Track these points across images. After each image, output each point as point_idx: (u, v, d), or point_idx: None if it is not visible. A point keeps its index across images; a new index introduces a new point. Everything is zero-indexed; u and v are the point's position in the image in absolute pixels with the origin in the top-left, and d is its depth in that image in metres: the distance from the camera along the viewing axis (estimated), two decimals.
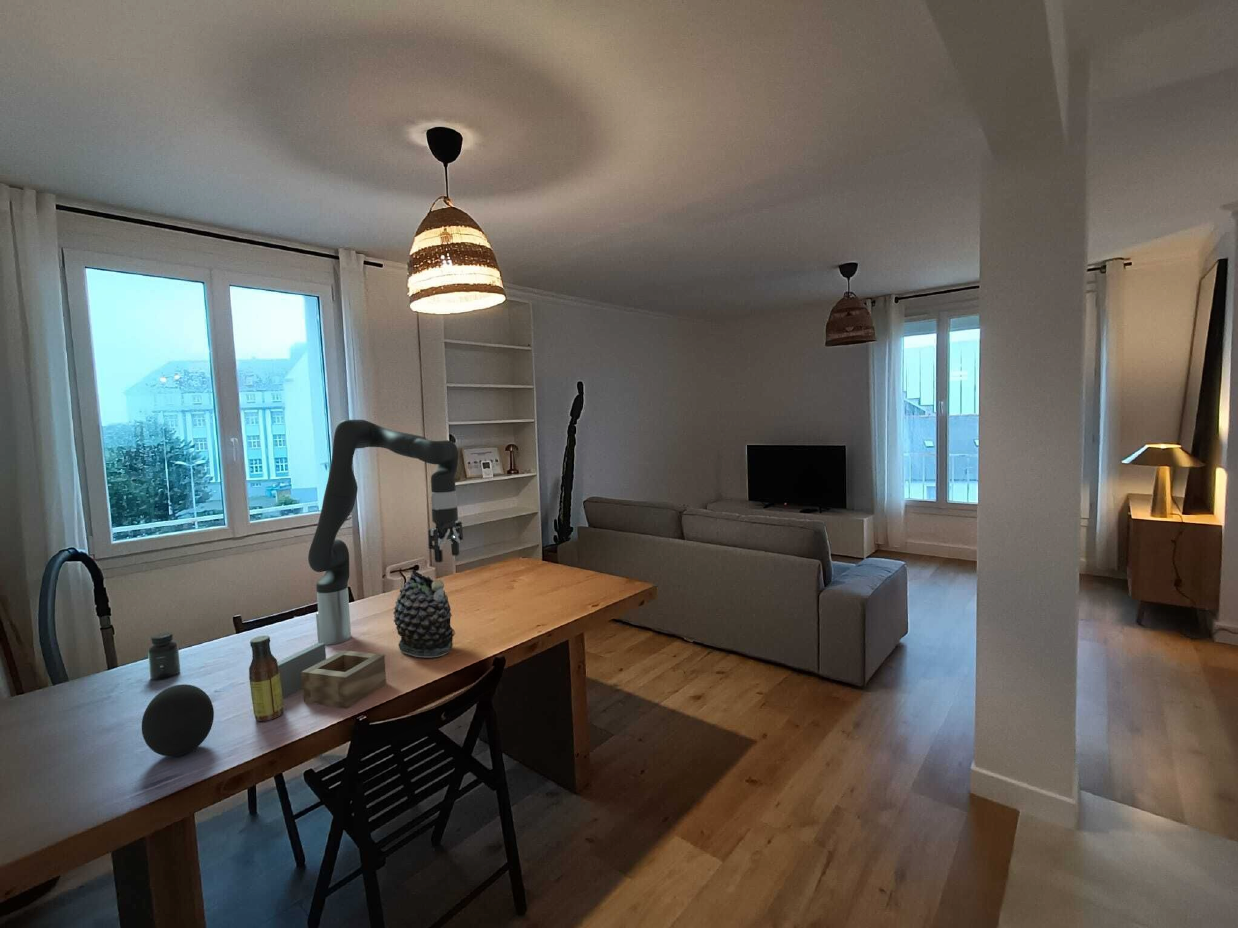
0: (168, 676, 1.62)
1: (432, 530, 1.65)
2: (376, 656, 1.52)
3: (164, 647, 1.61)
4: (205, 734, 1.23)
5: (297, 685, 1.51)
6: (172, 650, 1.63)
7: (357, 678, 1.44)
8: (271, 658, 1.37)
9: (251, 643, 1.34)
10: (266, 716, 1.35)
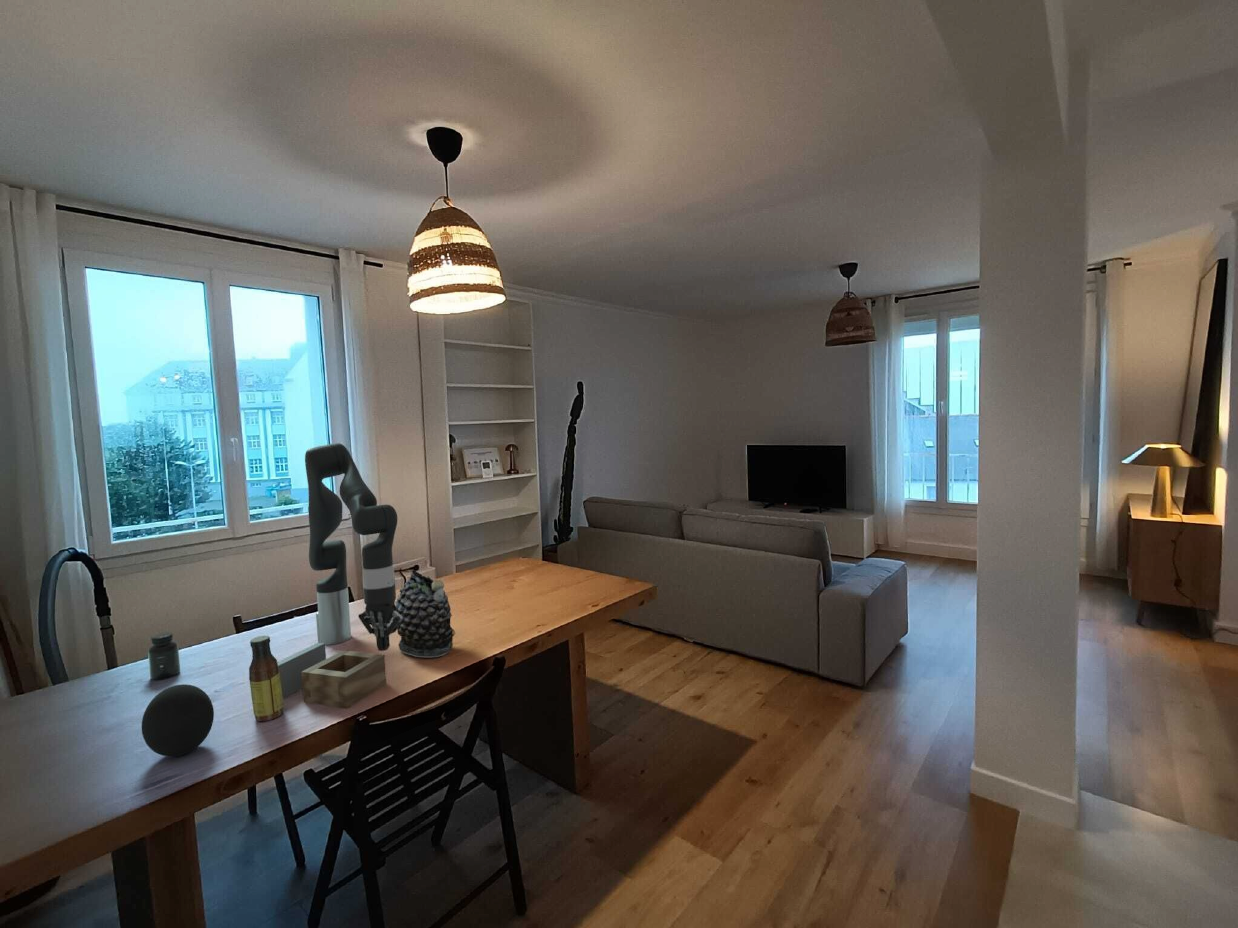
0: (168, 676, 1.62)
1: (401, 618, 1.42)
2: (376, 656, 1.52)
3: (164, 647, 1.61)
4: (205, 734, 1.23)
5: (297, 685, 1.51)
6: (172, 650, 1.63)
7: (357, 678, 1.44)
8: (271, 658, 1.37)
9: (251, 643, 1.34)
10: (266, 716, 1.35)
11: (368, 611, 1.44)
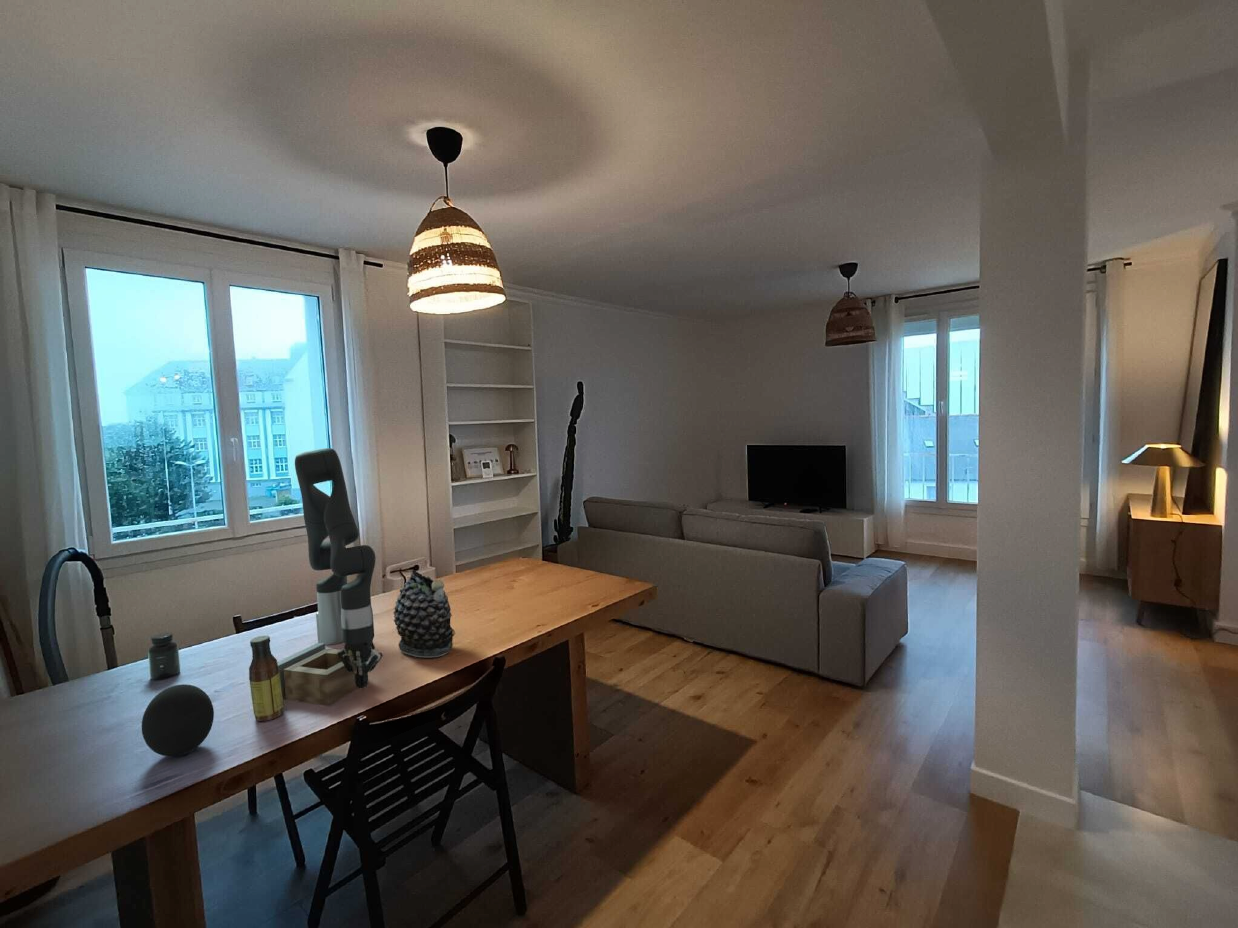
0: (168, 676, 1.62)
1: (379, 656, 1.45)
2: None
3: (164, 647, 1.61)
4: (205, 734, 1.23)
5: None
6: (172, 650, 1.63)
7: (339, 675, 1.46)
8: (271, 658, 1.37)
9: (251, 643, 1.34)
10: (266, 716, 1.35)
11: (347, 649, 1.47)
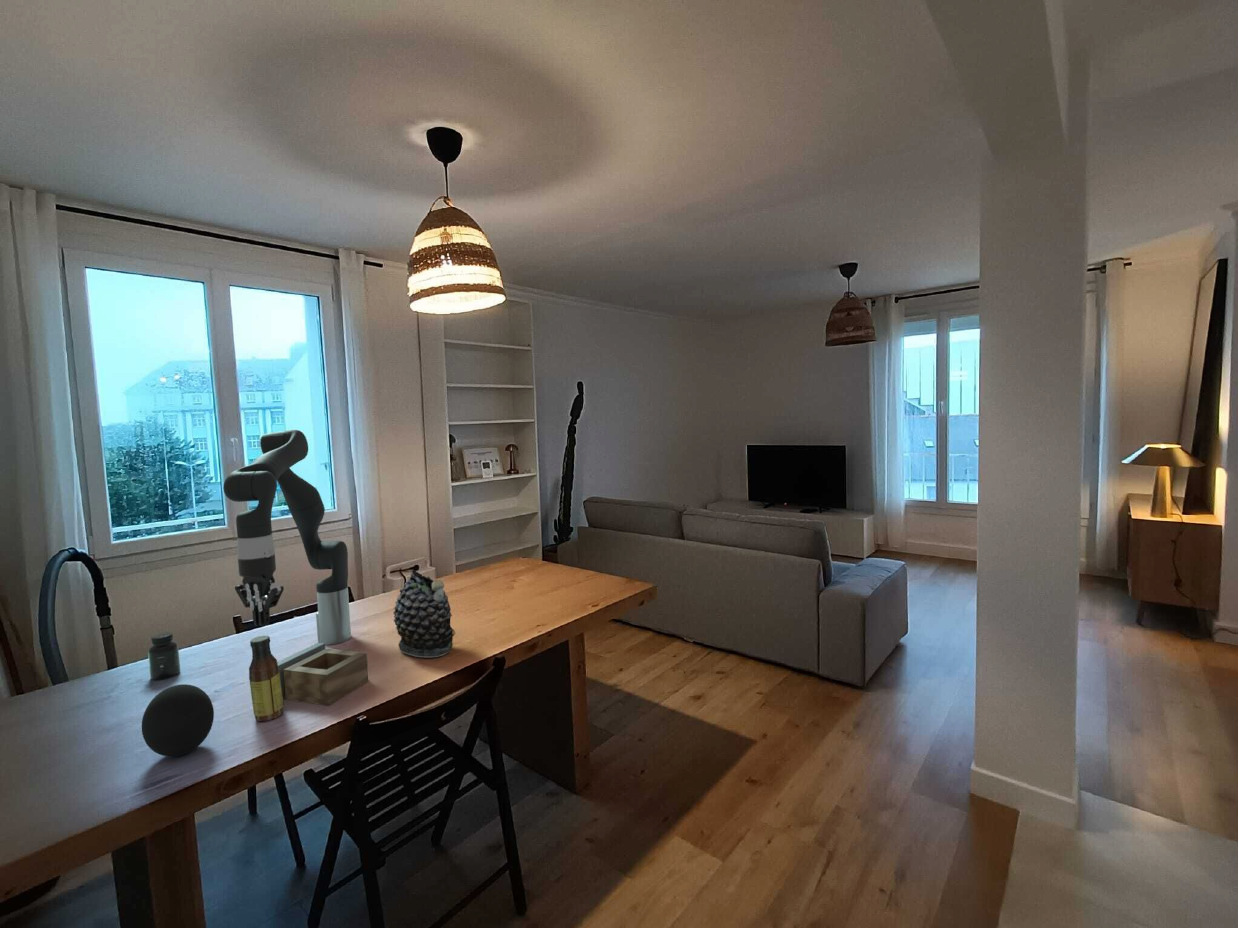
0: (168, 676, 1.62)
1: (279, 590, 1.34)
2: (359, 654, 1.54)
3: (164, 647, 1.61)
4: (205, 734, 1.23)
5: None
6: (172, 650, 1.63)
7: (339, 675, 1.46)
8: (271, 658, 1.37)
9: (251, 643, 1.34)
10: (266, 716, 1.35)
11: (245, 584, 1.35)
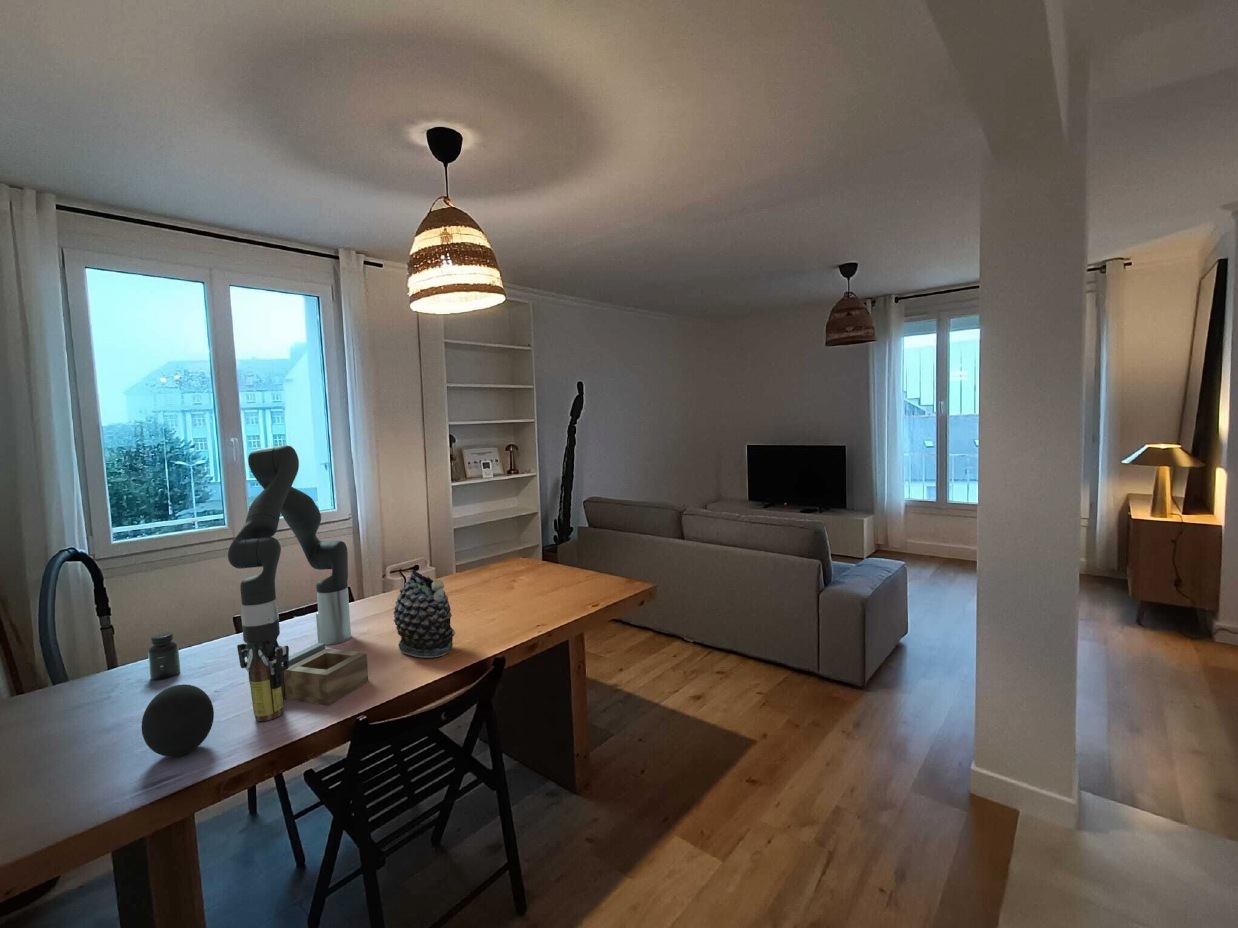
0: (168, 676, 1.62)
1: (284, 648, 1.35)
2: (359, 654, 1.54)
3: (164, 647, 1.61)
4: (205, 734, 1.23)
5: None
6: (172, 650, 1.63)
7: (339, 675, 1.46)
8: None
9: None
10: (266, 716, 1.35)
11: (248, 648, 1.37)
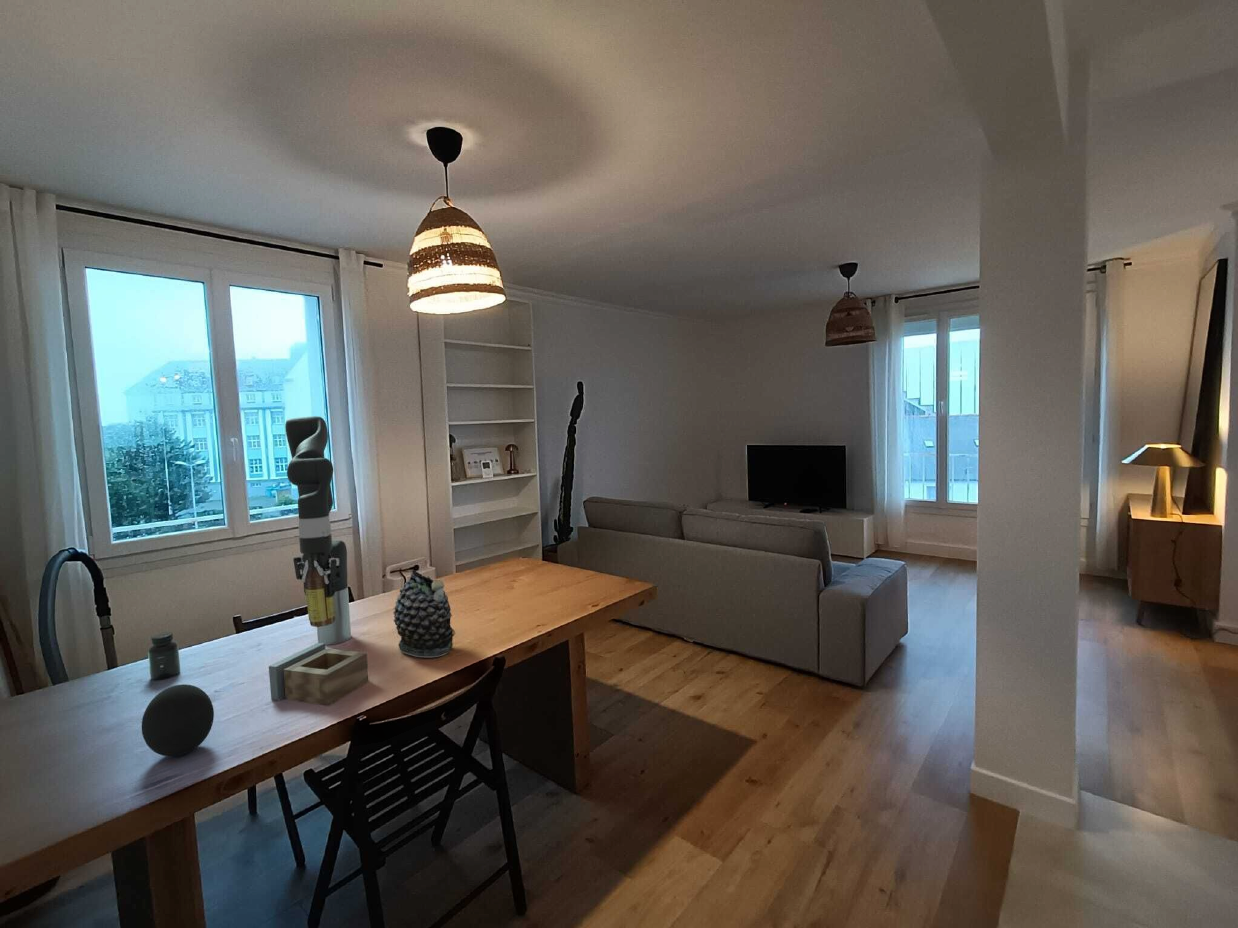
0: (168, 676, 1.62)
1: (338, 560, 1.47)
2: (359, 654, 1.54)
3: (164, 647, 1.61)
4: (205, 734, 1.23)
5: None
6: (172, 650, 1.63)
7: (339, 675, 1.46)
8: None
9: (307, 554, 1.46)
10: (321, 622, 1.47)
11: (304, 560, 1.49)
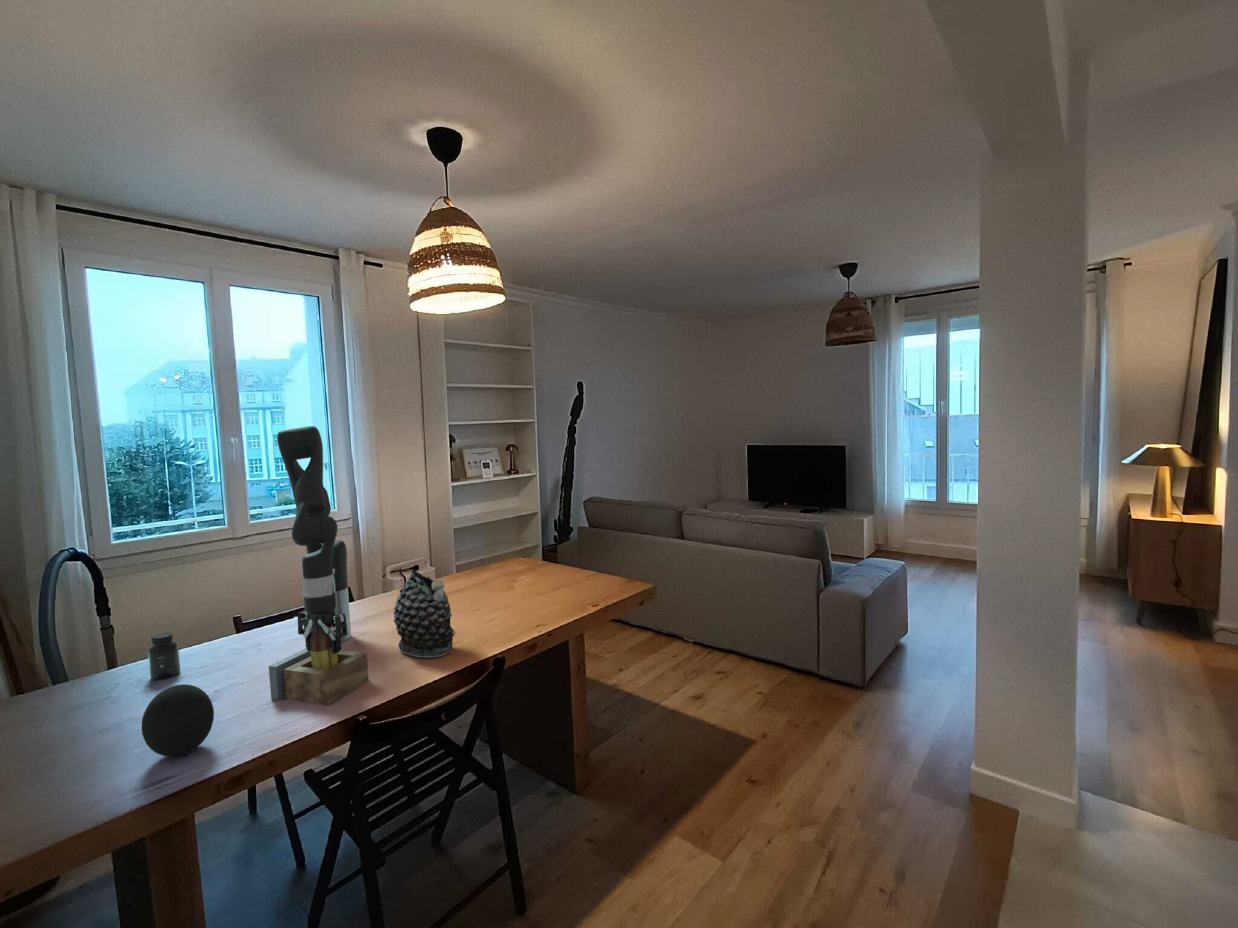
0: (168, 676, 1.62)
1: (342, 616, 1.48)
2: (359, 654, 1.54)
3: (164, 647, 1.61)
4: (205, 734, 1.23)
5: None
6: (172, 650, 1.63)
7: (339, 675, 1.46)
8: None
9: (312, 616, 1.48)
10: None
11: (308, 618, 1.50)
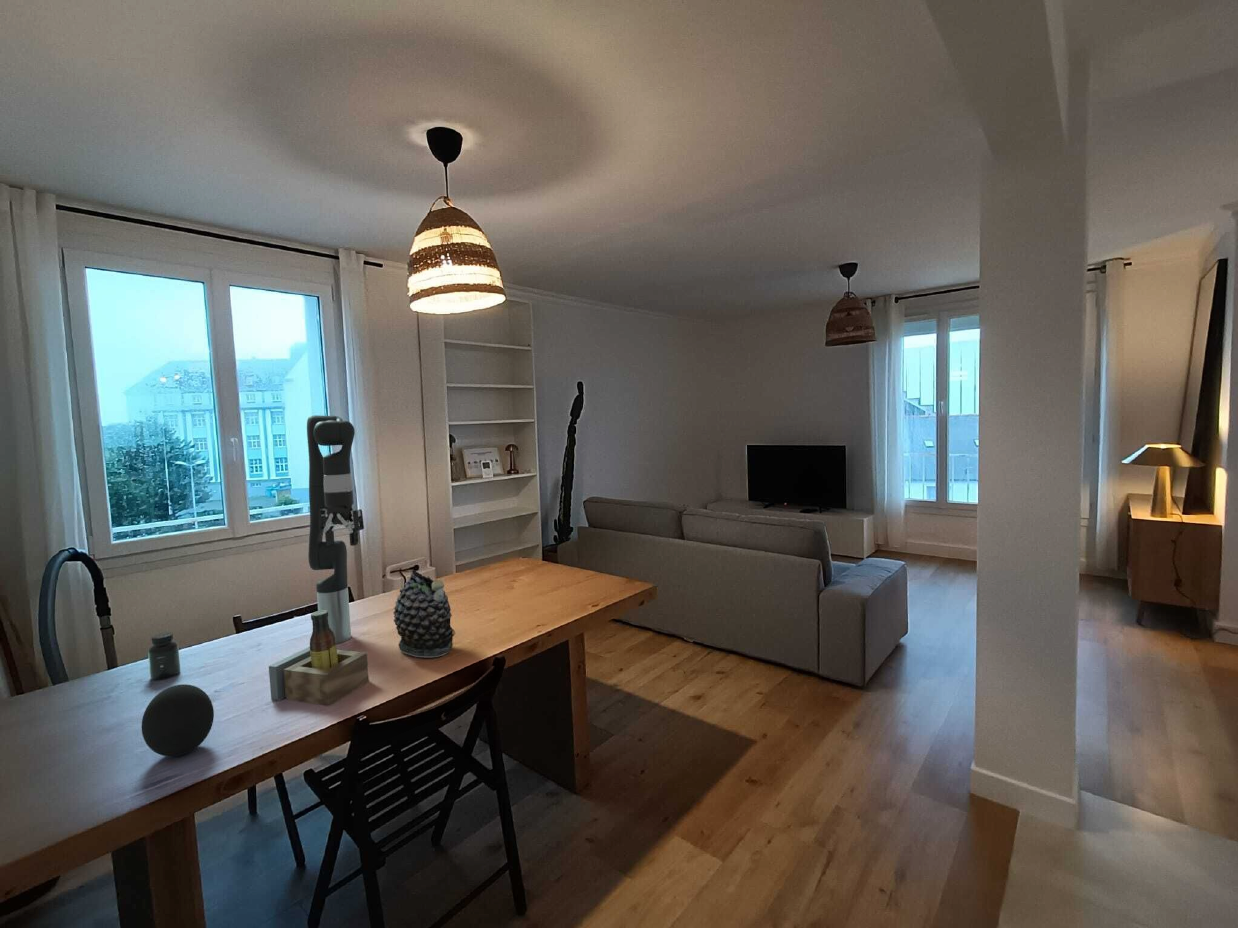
0: (168, 676, 1.62)
1: (359, 511, 1.62)
2: (359, 654, 1.54)
3: (164, 647, 1.61)
4: (205, 734, 1.23)
5: None
6: (172, 650, 1.63)
7: (339, 675, 1.46)
8: (329, 630, 1.50)
9: (312, 616, 1.48)
10: None
11: (328, 514, 1.64)
